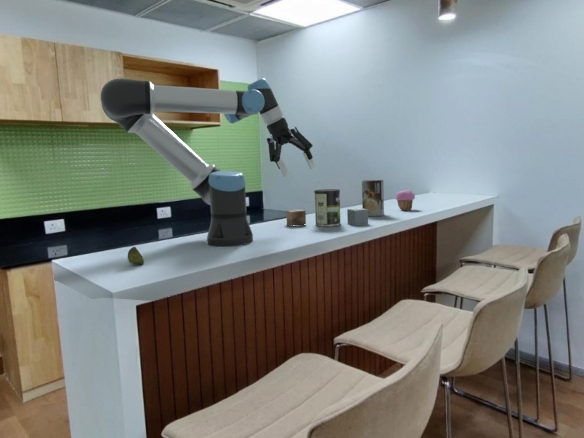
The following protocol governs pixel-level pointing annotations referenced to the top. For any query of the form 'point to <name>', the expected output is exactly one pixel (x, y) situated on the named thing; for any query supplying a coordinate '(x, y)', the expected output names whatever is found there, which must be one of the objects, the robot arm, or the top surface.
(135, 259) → the lime
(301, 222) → the walnut block
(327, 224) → the coffee can
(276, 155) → the robot arm
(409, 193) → the cupcake
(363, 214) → the slate block
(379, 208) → the coffee box
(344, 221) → the top surface
